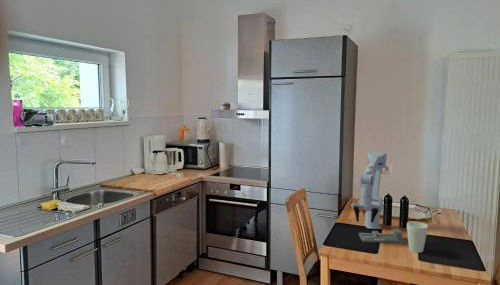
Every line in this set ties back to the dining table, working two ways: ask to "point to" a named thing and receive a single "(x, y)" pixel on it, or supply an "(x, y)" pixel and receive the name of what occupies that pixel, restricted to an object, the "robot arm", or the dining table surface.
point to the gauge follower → (375, 234)
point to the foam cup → (416, 235)
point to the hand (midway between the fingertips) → (364, 221)
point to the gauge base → (384, 237)
